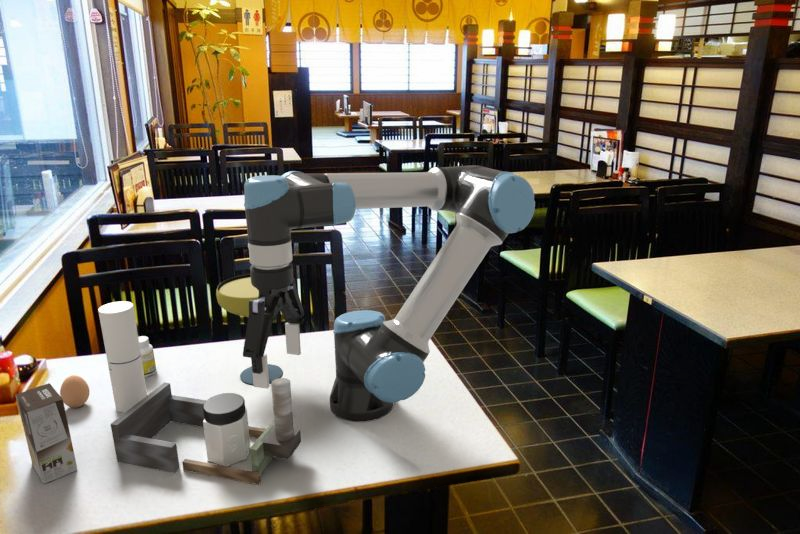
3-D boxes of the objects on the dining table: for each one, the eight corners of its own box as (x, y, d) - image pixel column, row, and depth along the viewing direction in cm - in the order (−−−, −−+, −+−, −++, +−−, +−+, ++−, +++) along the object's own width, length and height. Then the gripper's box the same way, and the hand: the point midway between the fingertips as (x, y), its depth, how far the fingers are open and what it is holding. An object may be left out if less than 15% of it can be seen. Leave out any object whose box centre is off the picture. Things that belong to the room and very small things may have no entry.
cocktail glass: (262, 399, 142) (253, 303, 135) (210, 380, 151) (199, 289, 144) (310, 369, 157) (305, 280, 149) (260, 353, 166) (253, 268, 158)
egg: (57, 409, 139) (51, 379, 136) (80, 397, 144) (74, 368, 141) (75, 415, 136) (68, 385, 134) (97, 402, 141) (91, 373, 139)
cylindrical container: (133, 414, 136) (116, 315, 129) (108, 409, 139) (90, 311, 131) (154, 399, 143) (140, 303, 135) (131, 394, 145) (115, 299, 137)
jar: (214, 471, 117) (207, 419, 113) (202, 450, 123) (195, 400, 120) (257, 456, 122) (252, 405, 118) (243, 436, 128) (238, 388, 124)
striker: (306, 447, 124) (302, 370, 118) (283, 480, 114) (277, 398, 108) (277, 442, 125) (271, 366, 120) (252, 474, 115) (244, 393, 110)
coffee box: (79, 469, 118) (64, 399, 113) (43, 485, 113) (26, 412, 108) (64, 449, 124) (49, 382, 119) (30, 463, 120) (13, 393, 115)
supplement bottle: (134, 370, 157) (128, 336, 154) (156, 366, 159) (151, 333, 156) (134, 379, 152) (128, 345, 149) (157, 375, 154) (151, 341, 151)
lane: (293, 437, 128) (290, 401, 125) (255, 488, 112) (251, 448, 109) (169, 417, 135) (164, 382, 133) (117, 462, 120) (110, 424, 117)
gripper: (282, 243, 118) (288, 339, 125) (214, 284, 95) (226, 399, 102) (317, 246, 116) (322, 343, 123) (256, 288, 93) (265, 406, 100)
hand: (278, 369), depth 112 cm, fingers open, 13 cm apart
